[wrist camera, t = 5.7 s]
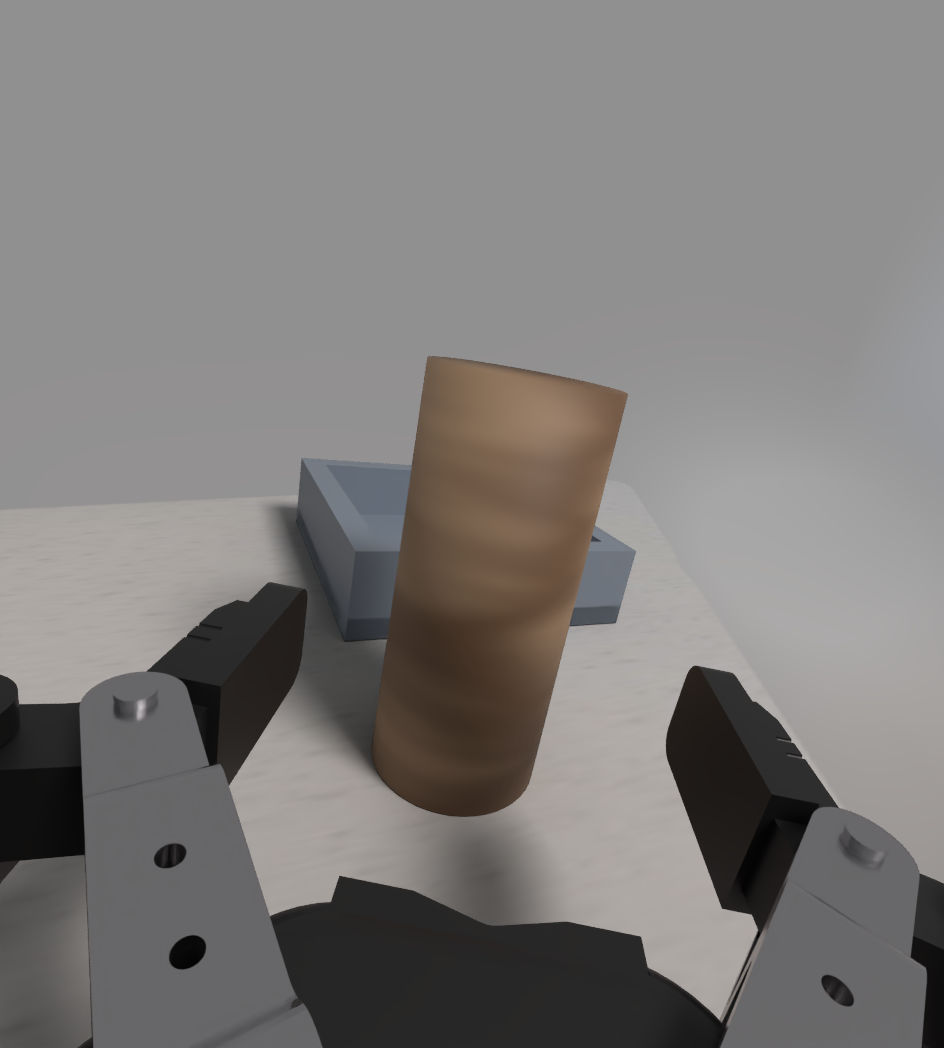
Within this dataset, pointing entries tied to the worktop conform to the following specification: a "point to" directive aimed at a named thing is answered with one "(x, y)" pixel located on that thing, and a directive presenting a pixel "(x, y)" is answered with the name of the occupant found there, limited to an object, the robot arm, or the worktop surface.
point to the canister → (487, 577)
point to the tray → (375, 537)
